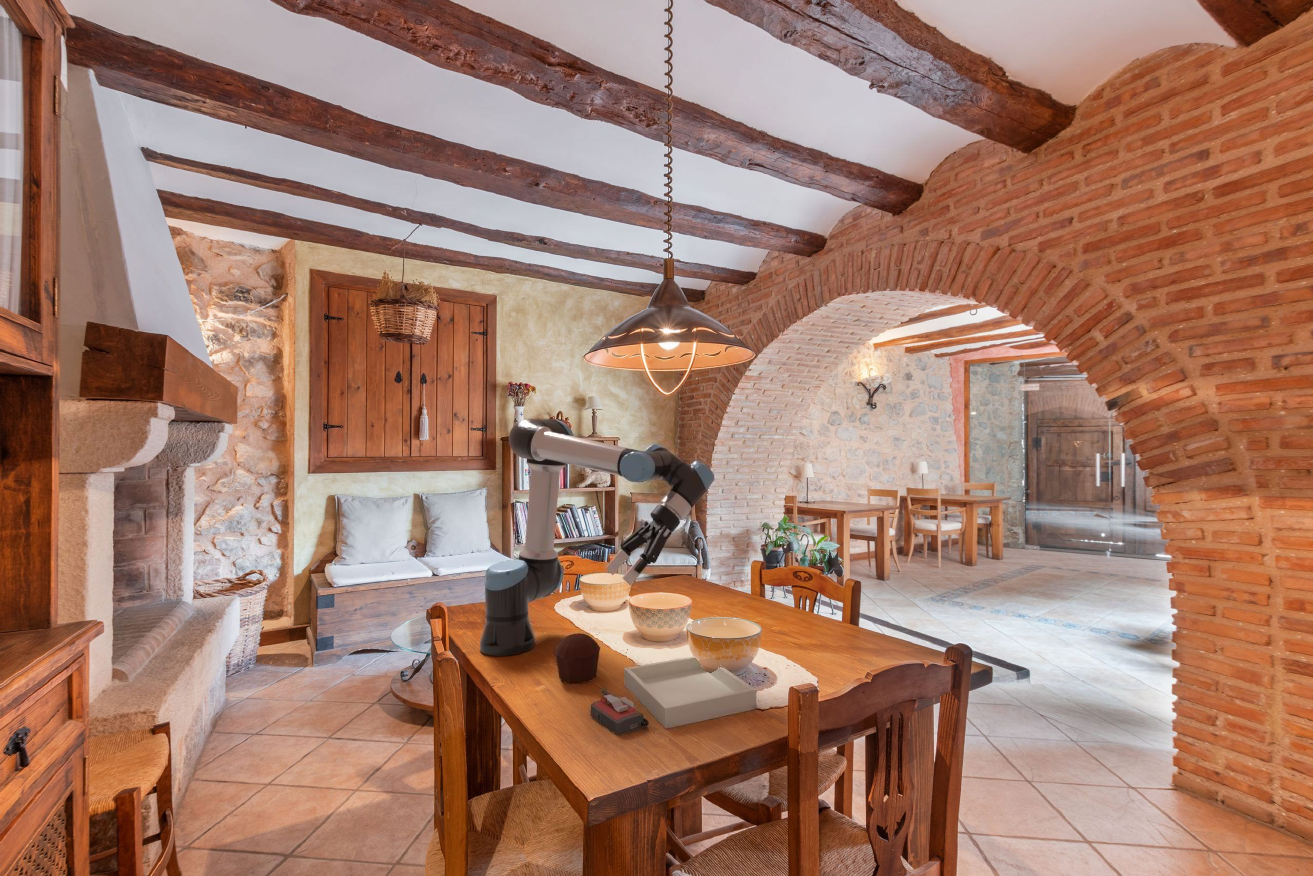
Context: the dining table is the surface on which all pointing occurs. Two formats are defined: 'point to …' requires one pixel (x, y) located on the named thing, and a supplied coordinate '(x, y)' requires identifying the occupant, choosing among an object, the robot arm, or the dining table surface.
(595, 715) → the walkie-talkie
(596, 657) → the muffin
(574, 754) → the dining table surface
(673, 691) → the tray
